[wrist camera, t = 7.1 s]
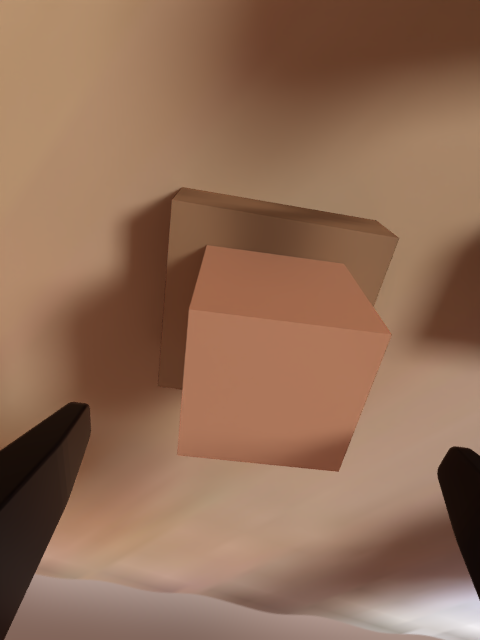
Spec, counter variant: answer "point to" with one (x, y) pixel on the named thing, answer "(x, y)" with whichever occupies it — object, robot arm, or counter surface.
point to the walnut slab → (259, 236)
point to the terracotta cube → (276, 360)
